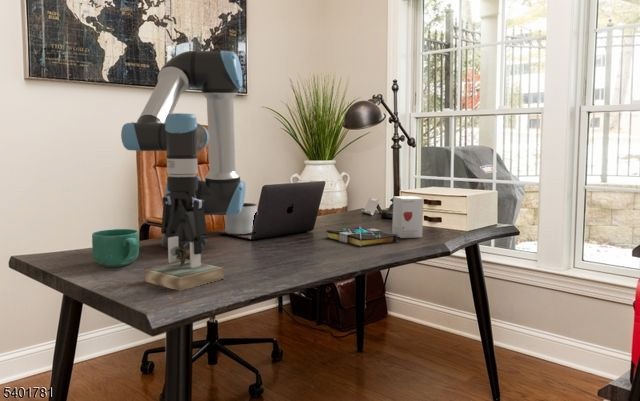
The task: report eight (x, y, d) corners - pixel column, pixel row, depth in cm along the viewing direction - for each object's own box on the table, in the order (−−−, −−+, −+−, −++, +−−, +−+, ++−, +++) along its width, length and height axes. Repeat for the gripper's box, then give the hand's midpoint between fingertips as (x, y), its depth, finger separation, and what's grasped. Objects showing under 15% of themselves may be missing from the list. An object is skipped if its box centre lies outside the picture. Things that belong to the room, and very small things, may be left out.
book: (398, 243, 192) (398, 229, 191) (361, 248, 182) (361, 234, 182) (360, 234, 209) (360, 222, 209) (324, 239, 200) (324, 225, 199)
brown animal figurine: (202, 262, 135) (213, 249, 143) (185, 240, 133) (197, 228, 142) (179, 277, 136) (191, 263, 145) (162, 254, 135) (175, 242, 144)
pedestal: (144, 281, 136) (144, 269, 136) (189, 271, 147) (188, 259, 147) (179, 291, 128) (179, 277, 128) (223, 279, 139) (223, 267, 139)
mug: (86, 264, 155) (84, 231, 154) (127, 257, 164) (126, 227, 163) (110, 274, 144) (108, 239, 142) (153, 267, 152) (152, 234, 151)
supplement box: (400, 238, 199) (401, 198, 198) (391, 234, 208) (392, 196, 206) (423, 237, 201) (424, 198, 200) (413, 233, 210) (414, 195, 208)
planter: (221, 231, 212) (220, 203, 211) (251, 229, 218) (250, 202, 217) (230, 236, 201) (230, 207, 200) (262, 234, 207) (262, 205, 206)
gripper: (144, 174, 138) (147, 261, 141) (197, 178, 125) (199, 273, 128) (168, 173, 144) (171, 256, 146) (221, 176, 131) (223, 267, 134)
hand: (184, 264), depth 137 cm, fingers closed on brown animal figurine, 8 cm apart
